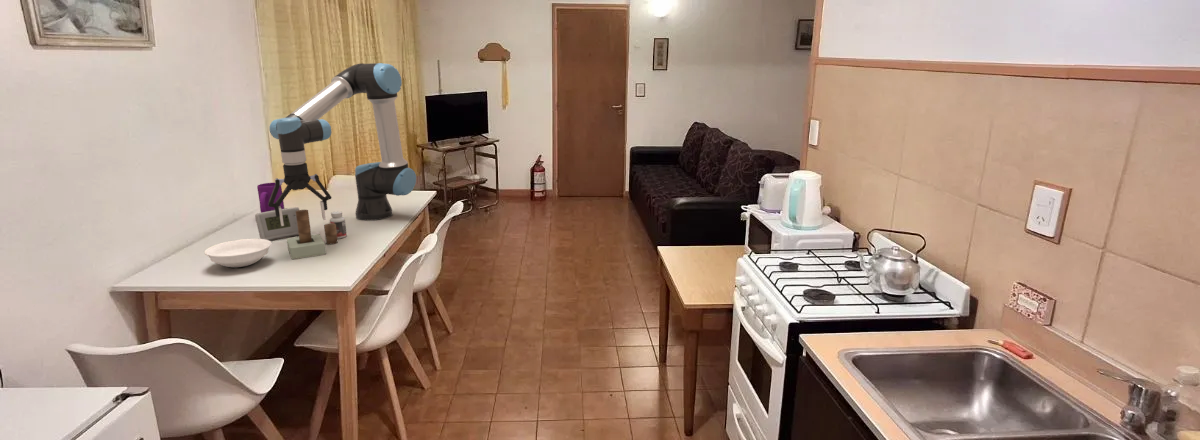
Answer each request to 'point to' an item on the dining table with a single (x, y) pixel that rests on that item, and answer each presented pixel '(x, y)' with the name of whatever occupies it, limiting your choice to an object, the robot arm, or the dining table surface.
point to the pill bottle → (339, 224)
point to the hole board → (306, 247)
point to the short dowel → (330, 233)
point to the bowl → (238, 252)
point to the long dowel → (303, 226)
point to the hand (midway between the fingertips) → (303, 222)
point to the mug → (268, 196)
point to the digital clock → (277, 224)
